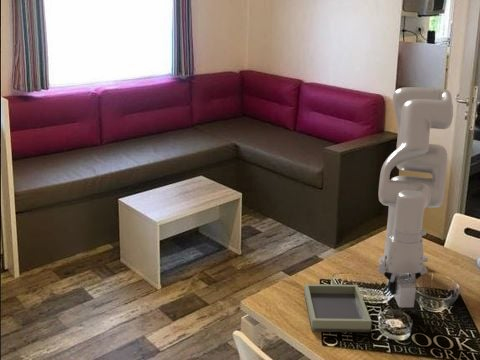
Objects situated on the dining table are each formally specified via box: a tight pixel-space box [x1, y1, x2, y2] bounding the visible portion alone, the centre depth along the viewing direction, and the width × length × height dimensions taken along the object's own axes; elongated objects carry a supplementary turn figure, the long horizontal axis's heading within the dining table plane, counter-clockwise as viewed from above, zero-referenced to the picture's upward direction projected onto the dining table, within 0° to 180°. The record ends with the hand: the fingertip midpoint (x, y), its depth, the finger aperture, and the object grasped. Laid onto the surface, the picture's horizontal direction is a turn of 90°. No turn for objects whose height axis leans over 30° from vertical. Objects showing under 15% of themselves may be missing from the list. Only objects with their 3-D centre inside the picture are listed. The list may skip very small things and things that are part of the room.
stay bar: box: [386, 273, 417, 308], centre depth 163 cm, size 4×14×6 cm, turn 0°
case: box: [303, 283, 372, 333], centre depth 165 cm, size 16×20×4 cm
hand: (399, 291), depth 164 cm, fingers closed on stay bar, 4 cm apart
